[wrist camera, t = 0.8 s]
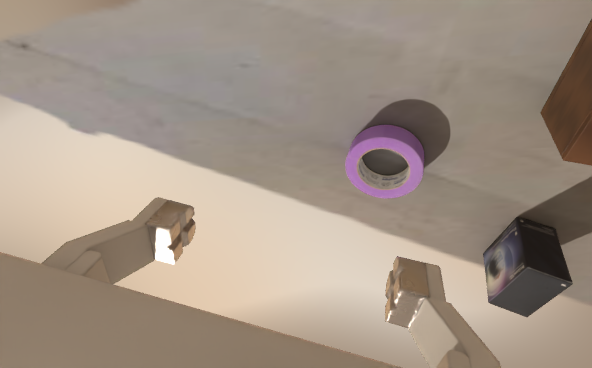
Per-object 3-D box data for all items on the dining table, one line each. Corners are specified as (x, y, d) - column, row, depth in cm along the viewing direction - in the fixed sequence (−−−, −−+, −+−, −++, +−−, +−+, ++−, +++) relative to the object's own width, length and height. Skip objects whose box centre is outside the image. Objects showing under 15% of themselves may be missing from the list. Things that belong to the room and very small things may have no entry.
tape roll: (407, 193, 57) (405, 208, 54) (342, 171, 59) (337, 185, 56) (437, 137, 49) (437, 152, 46) (361, 114, 51) (357, 126, 48)
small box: (514, 214, 53) (526, 266, 45) (557, 228, 52) (577, 283, 45) (480, 253, 60) (486, 304, 53) (517, 265, 59) (529, 319, 52)
